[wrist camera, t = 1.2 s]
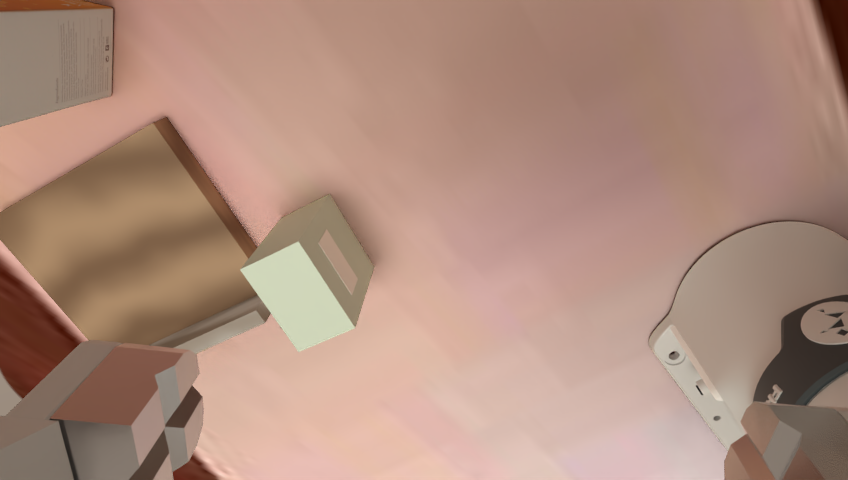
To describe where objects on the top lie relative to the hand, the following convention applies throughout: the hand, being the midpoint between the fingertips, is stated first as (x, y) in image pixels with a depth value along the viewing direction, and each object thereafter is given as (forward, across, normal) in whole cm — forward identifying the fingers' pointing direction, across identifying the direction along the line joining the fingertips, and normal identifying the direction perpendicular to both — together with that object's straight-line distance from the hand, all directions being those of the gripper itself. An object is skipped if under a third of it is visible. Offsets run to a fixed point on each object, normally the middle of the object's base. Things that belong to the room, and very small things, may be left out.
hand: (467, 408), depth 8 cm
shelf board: (+33, +24, +16) cm, 44 cm away
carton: (+33, +9, +14) cm, 37 cm away
